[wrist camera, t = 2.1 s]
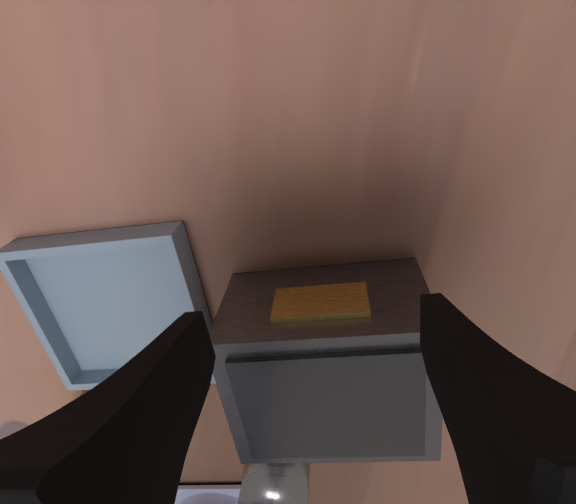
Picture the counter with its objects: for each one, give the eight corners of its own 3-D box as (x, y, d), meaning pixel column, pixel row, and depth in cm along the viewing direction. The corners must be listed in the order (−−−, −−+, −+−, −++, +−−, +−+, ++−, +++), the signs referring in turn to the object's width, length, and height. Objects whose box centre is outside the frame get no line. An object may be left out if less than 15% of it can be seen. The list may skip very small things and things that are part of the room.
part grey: (314, 437, 28) (311, 528, 23) (259, 438, 29) (245, 527, 24) (307, 397, 26) (303, 486, 21) (249, 399, 27) (231, 486, 22)
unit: (415, 375, 25) (441, 471, 19) (259, 382, 26) (241, 474, 21) (415, 252, 21) (448, 329, 15) (231, 269, 22) (200, 344, 17)
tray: (223, 362, 26) (217, 383, 24) (82, 370, 27) (67, 390, 25) (182, 220, 21) (170, 235, 19) (15, 238, 22) (-9, 253, 21)
